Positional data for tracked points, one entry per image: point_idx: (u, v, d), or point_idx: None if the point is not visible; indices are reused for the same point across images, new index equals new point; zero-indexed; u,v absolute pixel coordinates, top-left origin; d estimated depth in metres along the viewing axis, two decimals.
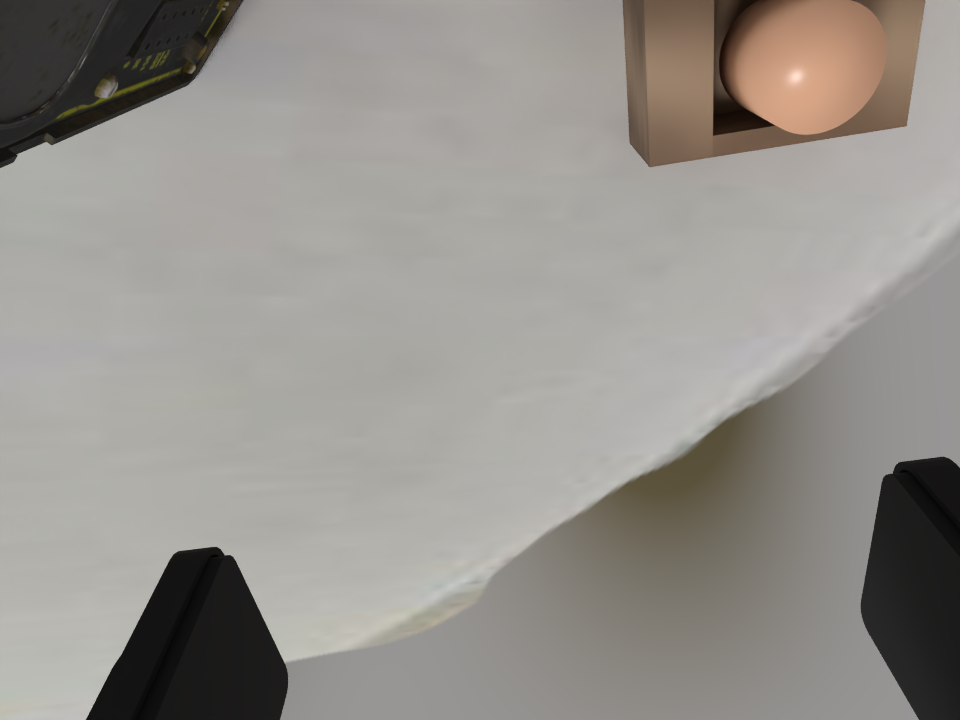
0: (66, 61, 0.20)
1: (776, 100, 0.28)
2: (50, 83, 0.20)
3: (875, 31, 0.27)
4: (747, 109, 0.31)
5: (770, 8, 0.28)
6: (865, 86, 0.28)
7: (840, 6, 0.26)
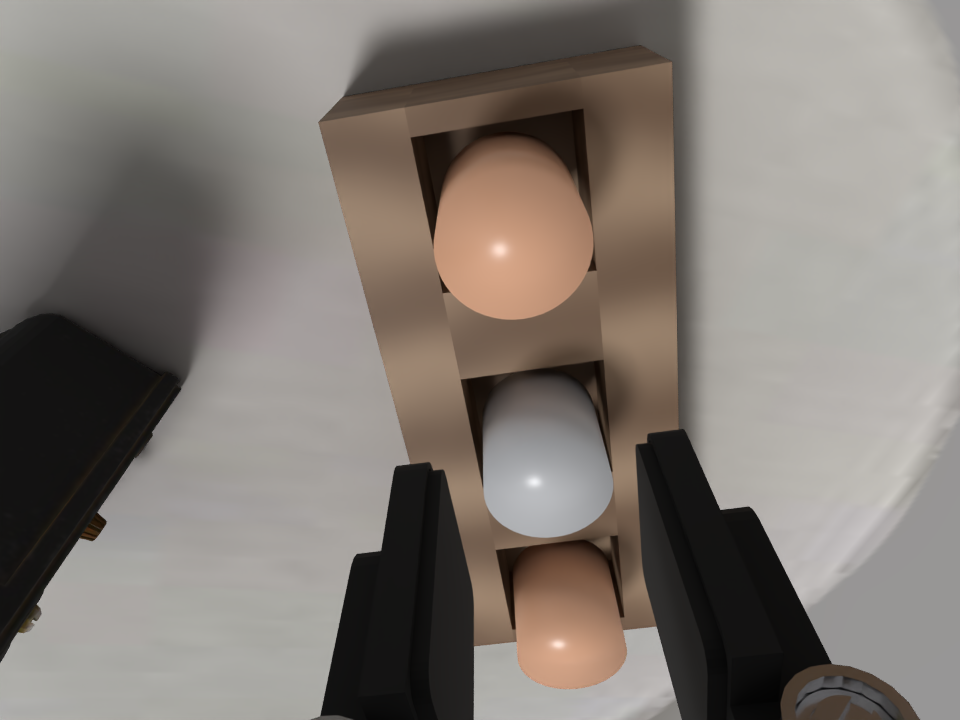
0: None
1: (537, 671, 0.32)
2: None
3: (613, 635, 0.31)
4: None
5: (537, 579, 0.33)
6: (613, 663, 0.32)
7: (579, 622, 0.30)
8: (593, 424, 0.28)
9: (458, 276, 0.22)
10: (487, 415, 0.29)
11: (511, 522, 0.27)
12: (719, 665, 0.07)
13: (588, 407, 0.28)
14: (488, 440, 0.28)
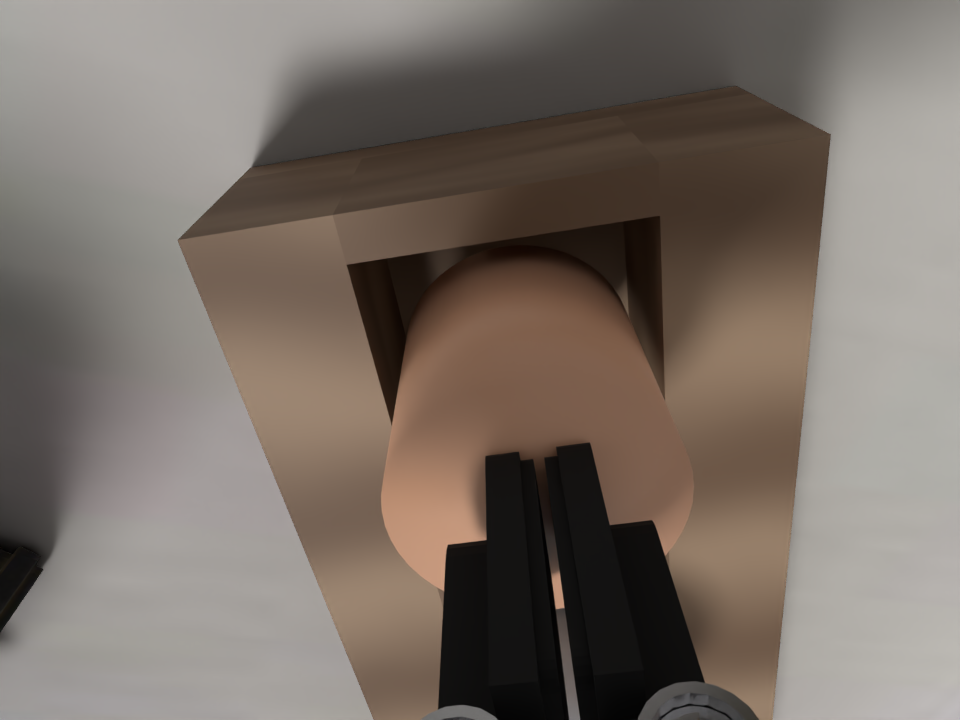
0: None
1: None
2: None
3: None
4: None
5: None
6: None
7: None
8: None
9: (431, 549, 0.11)
10: None
11: None
12: (587, 682, 0.07)
13: None
14: None
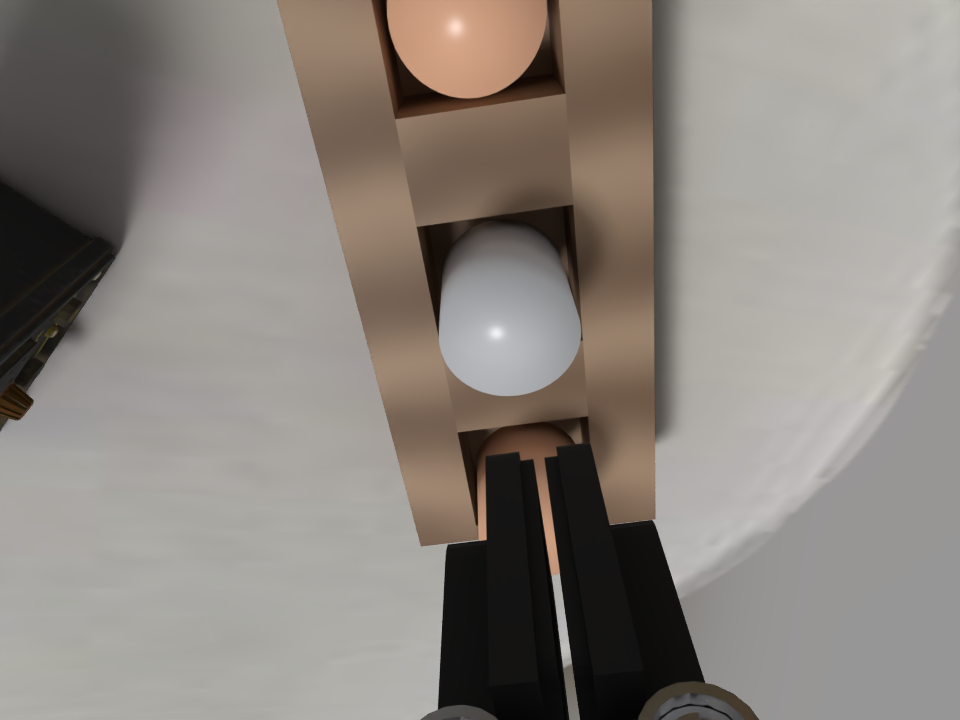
0: None
1: None
2: None
3: None
4: None
5: None
6: None
7: (544, 499, 0.28)
8: (560, 271, 0.25)
9: (412, 46, 0.22)
10: (446, 268, 0.27)
11: (470, 376, 0.25)
12: (587, 682, 0.07)
13: (556, 257, 0.26)
14: (445, 288, 0.25)
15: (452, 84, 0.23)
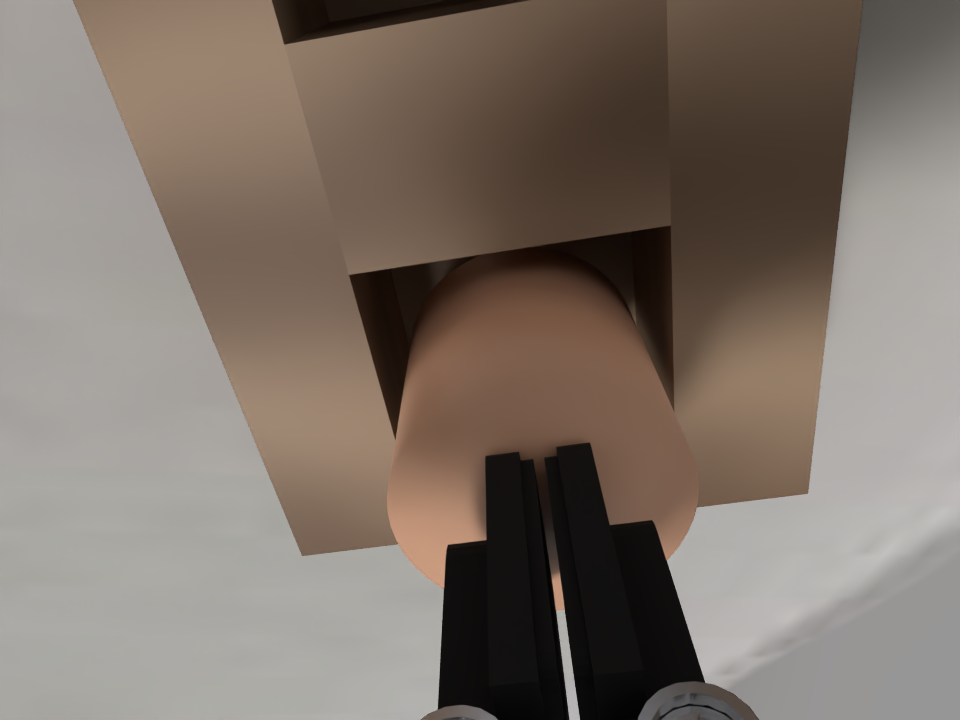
0: None
1: None
2: None
3: (662, 438, 0.10)
4: None
5: (453, 320, 0.12)
6: None
7: (561, 392, 0.10)
8: None
9: None
10: None
11: None
12: (586, 681, 0.07)
13: None
14: None
15: None
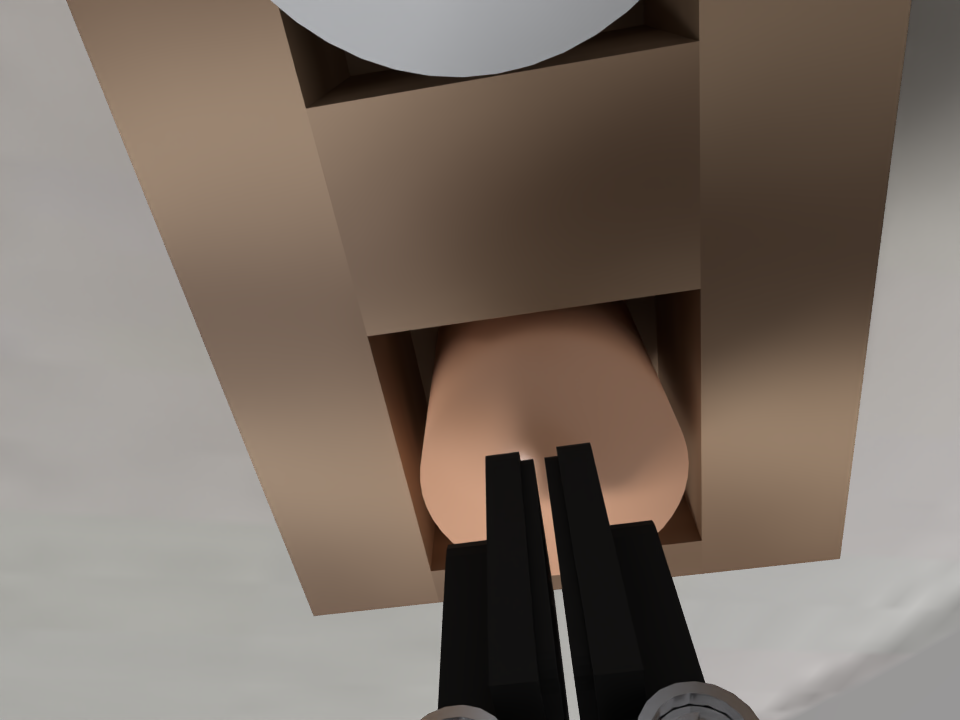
0: None
1: (472, 525, 0.13)
2: None
3: (656, 418, 0.12)
4: None
5: None
6: (653, 505, 0.13)
7: (570, 376, 0.12)
8: None
9: None
10: None
11: None
12: (586, 682, 0.07)
13: None
14: None
15: None
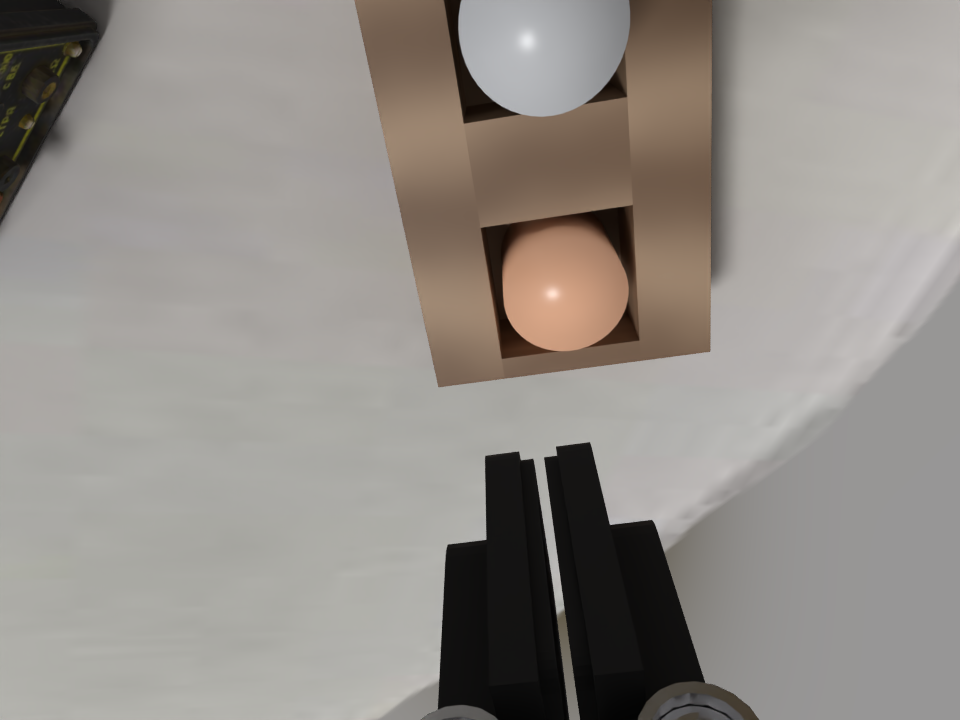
0: None
1: (526, 321, 0.28)
2: None
3: (613, 264, 0.27)
4: None
5: (527, 226, 0.29)
6: (612, 310, 0.28)
7: (574, 242, 0.26)
8: None
9: None
10: None
11: (495, 87, 0.21)
12: (587, 681, 0.07)
13: None
14: None
15: None
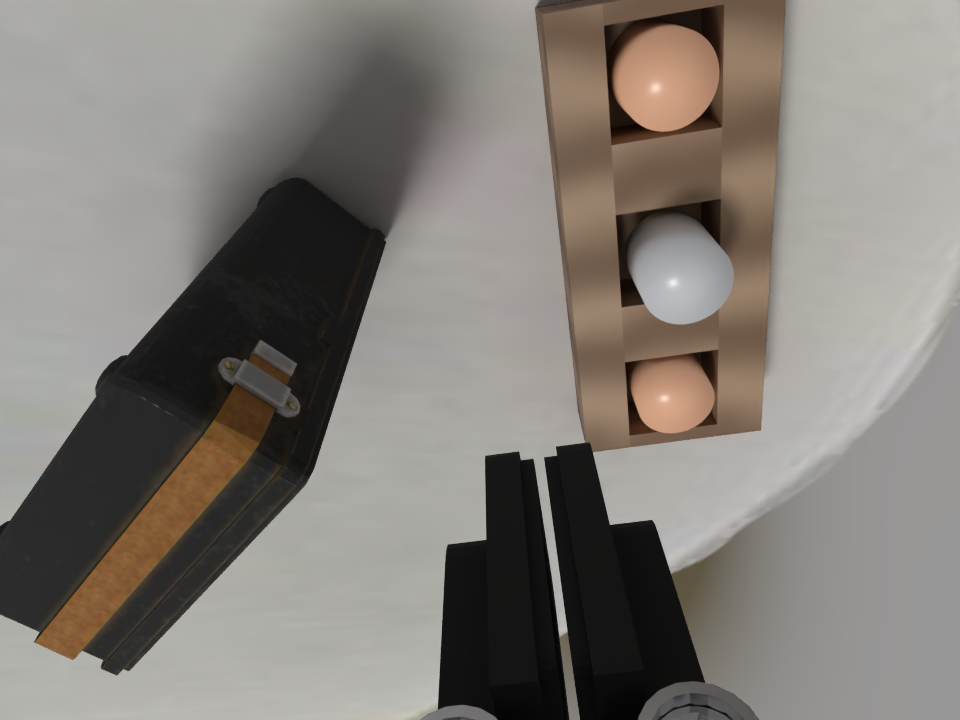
0: None
1: (650, 417, 0.46)
2: None
3: (706, 384, 0.44)
4: None
5: None
6: (703, 410, 0.45)
7: (683, 373, 0.44)
8: None
9: (633, 100, 0.36)
10: (633, 242, 0.40)
11: (658, 310, 0.38)
12: (587, 682, 0.07)
13: None
14: (640, 253, 0.38)
15: (655, 123, 0.36)
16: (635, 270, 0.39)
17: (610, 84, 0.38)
